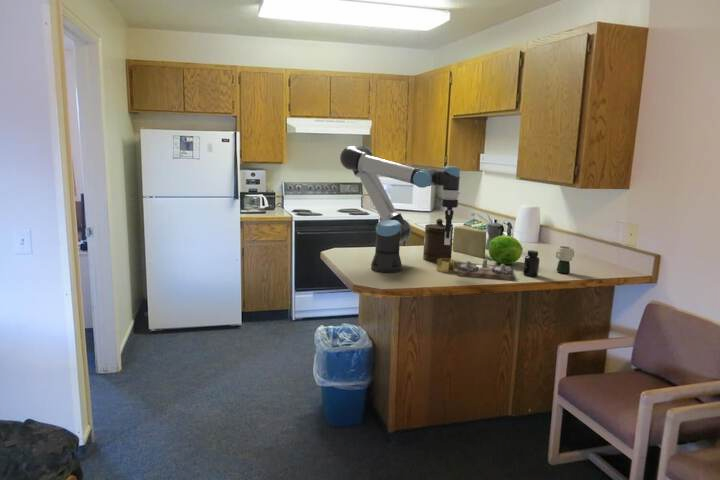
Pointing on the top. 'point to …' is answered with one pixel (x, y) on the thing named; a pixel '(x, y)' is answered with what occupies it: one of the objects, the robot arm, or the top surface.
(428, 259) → the wooden container
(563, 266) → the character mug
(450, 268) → the faceted octagonal washer
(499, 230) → the coffeepot
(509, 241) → the lettuce
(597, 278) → the top surface
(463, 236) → the beige rectangular block
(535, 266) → the supplement bottle
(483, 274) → the gear board
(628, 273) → the top surface
